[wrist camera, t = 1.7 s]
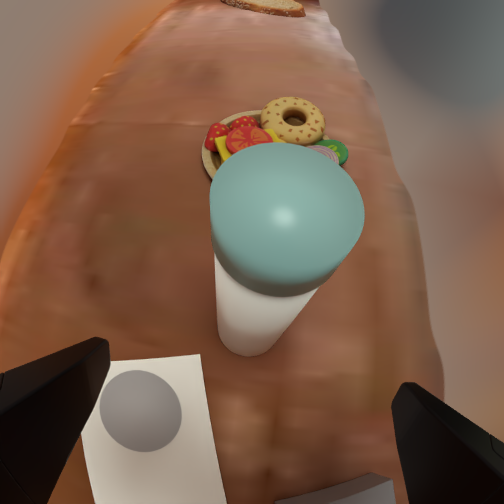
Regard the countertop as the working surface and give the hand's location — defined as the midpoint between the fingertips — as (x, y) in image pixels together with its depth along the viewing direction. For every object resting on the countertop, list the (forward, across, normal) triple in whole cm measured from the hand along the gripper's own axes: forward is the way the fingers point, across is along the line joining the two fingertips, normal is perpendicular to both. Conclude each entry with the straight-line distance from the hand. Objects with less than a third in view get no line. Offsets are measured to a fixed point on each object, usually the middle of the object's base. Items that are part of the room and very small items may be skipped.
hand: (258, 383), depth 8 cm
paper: (+5, +5, +11) cm, 14 cm away
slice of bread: (+61, +8, -43) cm, 75 cm away
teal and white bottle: (+12, 0, +5) cm, 13 cm away
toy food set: (+23, 0, -6) cm, 24 cm away
